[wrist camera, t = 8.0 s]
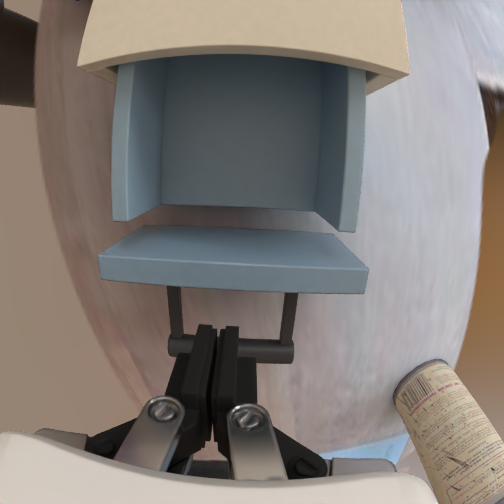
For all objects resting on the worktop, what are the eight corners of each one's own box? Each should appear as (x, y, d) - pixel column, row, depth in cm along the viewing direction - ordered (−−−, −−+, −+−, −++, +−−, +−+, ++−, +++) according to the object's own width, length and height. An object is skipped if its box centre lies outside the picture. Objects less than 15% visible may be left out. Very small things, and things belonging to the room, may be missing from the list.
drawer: (317, 330, 19) (338, 389, 13) (152, 321, 19) (121, 375, 13) (342, 28, 12) (376, -17, 7) (156, 22, 12) (121, -22, 7)
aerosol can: (383, 411, 23) (440, 568, 4) (407, 363, 21) (500, 541, 2) (432, 401, 23) (497, 531, 4) (457, 355, 21) (551, 492, 2)
